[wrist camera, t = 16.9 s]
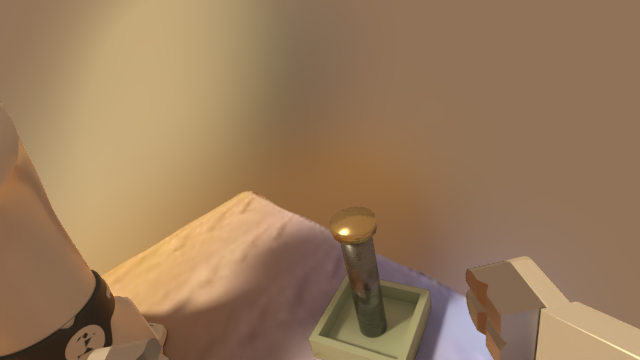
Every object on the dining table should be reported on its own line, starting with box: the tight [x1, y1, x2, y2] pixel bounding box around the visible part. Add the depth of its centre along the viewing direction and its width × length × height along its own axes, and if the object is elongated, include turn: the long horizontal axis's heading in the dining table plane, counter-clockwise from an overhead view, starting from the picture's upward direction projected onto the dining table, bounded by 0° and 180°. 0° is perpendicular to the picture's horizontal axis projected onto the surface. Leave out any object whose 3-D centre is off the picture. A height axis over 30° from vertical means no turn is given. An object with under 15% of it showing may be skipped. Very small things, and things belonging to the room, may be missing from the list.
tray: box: [309, 274, 431, 360], centre depth 44 cm, size 11×11×3 cm
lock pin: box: [330, 207, 387, 338], centre depth 41 cm, size 4×4×15 cm
